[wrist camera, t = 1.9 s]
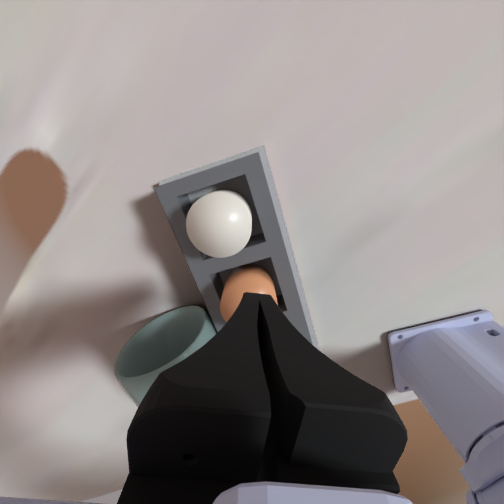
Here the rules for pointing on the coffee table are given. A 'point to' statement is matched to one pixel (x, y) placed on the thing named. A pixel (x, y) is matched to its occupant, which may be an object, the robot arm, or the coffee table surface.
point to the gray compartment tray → (261, 240)
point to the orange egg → (245, 287)
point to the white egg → (220, 223)
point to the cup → (161, 348)
